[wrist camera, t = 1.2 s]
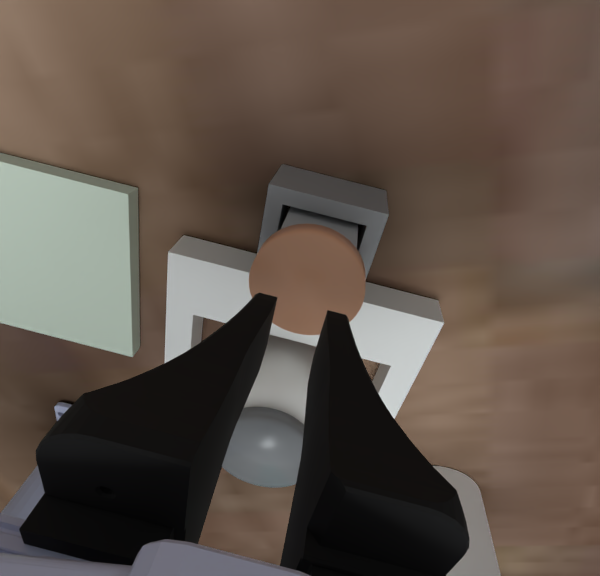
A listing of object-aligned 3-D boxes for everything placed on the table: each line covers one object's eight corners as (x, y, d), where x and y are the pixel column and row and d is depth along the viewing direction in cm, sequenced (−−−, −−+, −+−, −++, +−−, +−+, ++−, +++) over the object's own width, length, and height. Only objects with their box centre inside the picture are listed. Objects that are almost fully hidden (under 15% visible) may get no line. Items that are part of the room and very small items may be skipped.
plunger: (351, 288, 20) (347, 346, 16) (265, 265, 20) (241, 319, 16) (378, 206, 18) (381, 252, 14) (281, 181, 18) (257, 221, 14)
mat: (140, 346, 27) (132, 357, 26) (-22, 305, 27) (-34, 313, 26) (137, 187, 21) (128, 194, 20) (-71, 134, 21) (-89, 138, 20)
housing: (366, 447, 29) (366, 487, 26) (174, 397, 29) (156, 432, 26) (480, 214, 19) (497, 242, 16) (188, 140, 19) (161, 156, 16)
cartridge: (316, 391, 26) (300, 496, 20) (245, 372, 27) (208, 472, 20) (335, 336, 24) (323, 438, 18) (256, 315, 24) (217, 410, 18)
